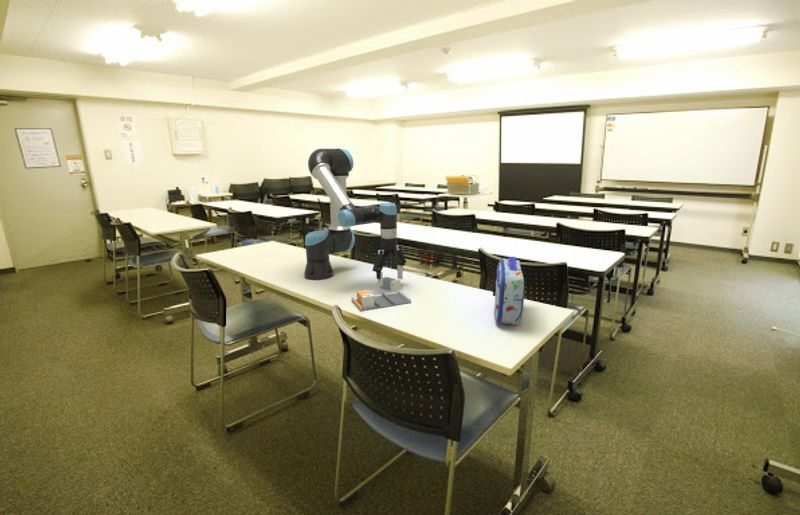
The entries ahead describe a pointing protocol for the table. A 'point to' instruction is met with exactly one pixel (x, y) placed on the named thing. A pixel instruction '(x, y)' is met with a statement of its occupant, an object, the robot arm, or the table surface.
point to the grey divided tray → (385, 301)
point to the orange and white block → (365, 299)
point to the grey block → (391, 284)
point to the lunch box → (509, 292)
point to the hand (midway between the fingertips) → (390, 282)
